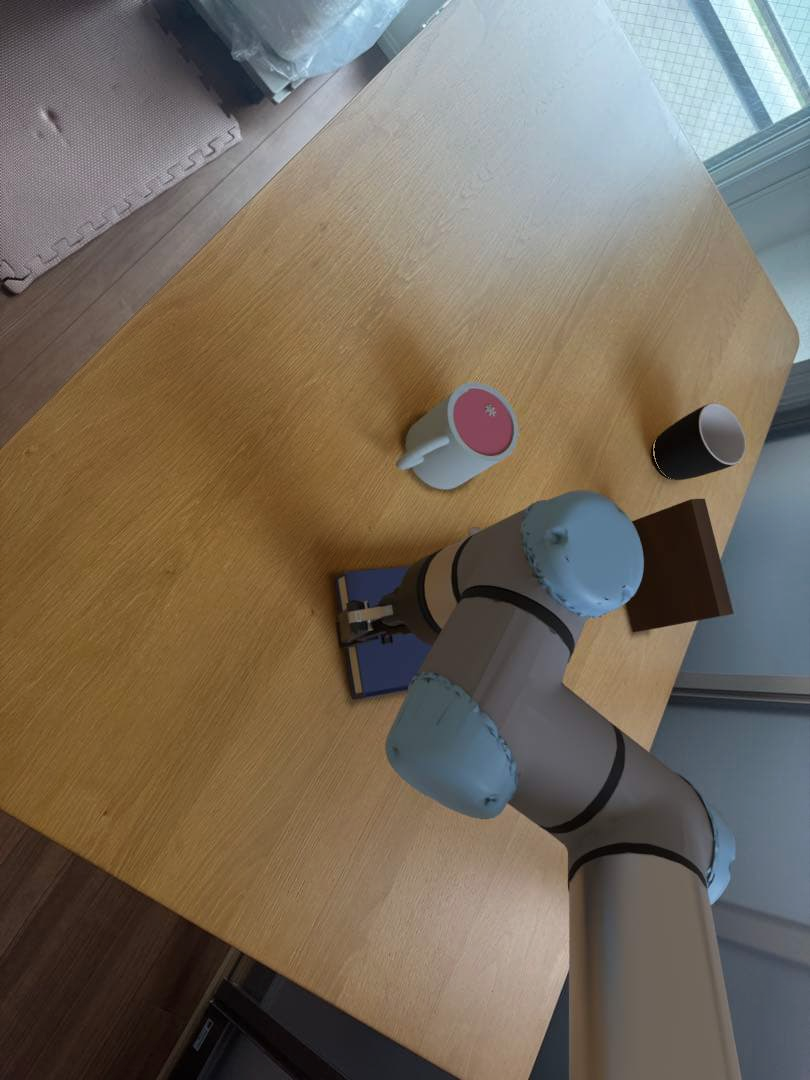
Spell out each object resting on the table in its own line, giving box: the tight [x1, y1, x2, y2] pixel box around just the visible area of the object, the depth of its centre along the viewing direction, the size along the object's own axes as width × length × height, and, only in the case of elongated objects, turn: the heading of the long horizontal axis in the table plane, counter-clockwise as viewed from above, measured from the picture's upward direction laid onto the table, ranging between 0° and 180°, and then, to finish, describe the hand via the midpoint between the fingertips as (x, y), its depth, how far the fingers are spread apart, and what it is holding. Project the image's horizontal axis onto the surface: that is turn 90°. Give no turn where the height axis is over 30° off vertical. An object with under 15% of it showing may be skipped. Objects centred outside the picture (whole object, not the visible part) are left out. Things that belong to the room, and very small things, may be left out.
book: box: [334, 565, 433, 701], centre depth 81 cm, size 24×13×3 cm, turn 99°
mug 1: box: [395, 381, 519, 490], centre depth 83 cm, size 14×9×10 cm
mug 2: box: [650, 402, 747, 481], centre depth 103 cm, size 12×9×10 cm
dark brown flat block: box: [625, 498, 735, 633], centre depth 91 cm, size 2×14×14 cm, turn 9°
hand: (343, 634), depth 75 cm, fingers closed
